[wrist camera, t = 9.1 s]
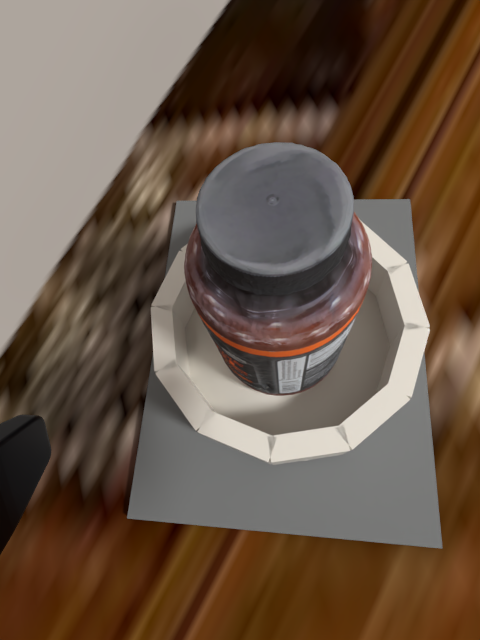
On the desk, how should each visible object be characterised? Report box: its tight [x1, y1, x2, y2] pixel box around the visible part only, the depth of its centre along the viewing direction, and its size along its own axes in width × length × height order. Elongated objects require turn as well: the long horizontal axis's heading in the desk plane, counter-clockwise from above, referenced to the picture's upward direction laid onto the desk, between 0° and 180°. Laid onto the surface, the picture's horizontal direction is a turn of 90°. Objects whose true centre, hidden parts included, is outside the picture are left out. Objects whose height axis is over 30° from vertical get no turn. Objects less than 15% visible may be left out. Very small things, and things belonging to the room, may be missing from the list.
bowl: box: [151, 220, 430, 465], centre depth 20 cm, size 12×12×4 cm
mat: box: [127, 199, 442, 548], centre depth 22 cm, size 18×14×1 cm
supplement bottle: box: [184, 142, 372, 396], centre depth 15 cm, size 6×6×11 cm
